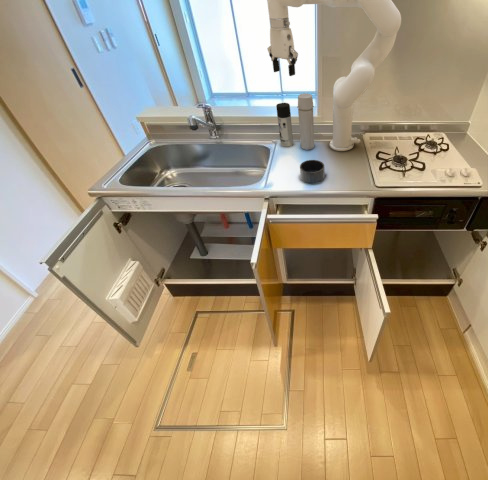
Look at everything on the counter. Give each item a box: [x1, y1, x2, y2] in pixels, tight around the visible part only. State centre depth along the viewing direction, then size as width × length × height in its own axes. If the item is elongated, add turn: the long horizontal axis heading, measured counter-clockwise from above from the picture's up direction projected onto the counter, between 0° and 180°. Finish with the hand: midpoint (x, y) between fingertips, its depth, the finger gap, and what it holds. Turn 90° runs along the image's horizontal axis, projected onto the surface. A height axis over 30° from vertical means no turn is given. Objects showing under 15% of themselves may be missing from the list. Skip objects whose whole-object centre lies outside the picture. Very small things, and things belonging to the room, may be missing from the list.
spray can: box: [275, 102, 294, 148], centre depth 135 cm, size 7×7×20 cm
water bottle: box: [296, 93, 315, 151], centre depth 131 cm, size 9×8×25 cm
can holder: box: [299, 159, 326, 185], centre depth 118 cm, size 11×11×6 cm
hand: (284, 73), depth 117 cm, fingers open, 9 cm apart
